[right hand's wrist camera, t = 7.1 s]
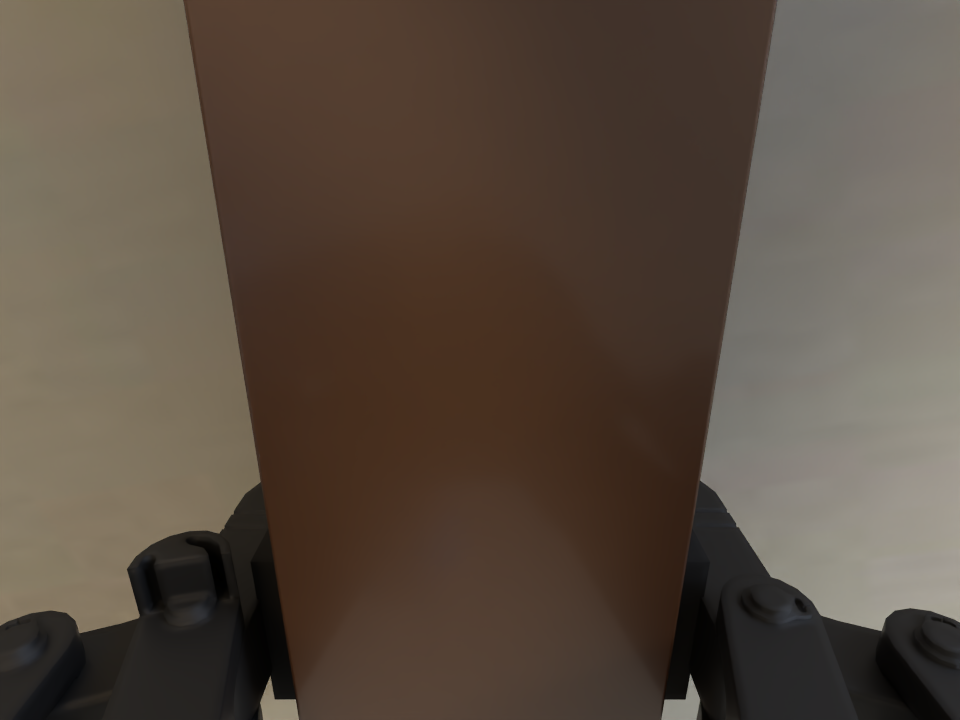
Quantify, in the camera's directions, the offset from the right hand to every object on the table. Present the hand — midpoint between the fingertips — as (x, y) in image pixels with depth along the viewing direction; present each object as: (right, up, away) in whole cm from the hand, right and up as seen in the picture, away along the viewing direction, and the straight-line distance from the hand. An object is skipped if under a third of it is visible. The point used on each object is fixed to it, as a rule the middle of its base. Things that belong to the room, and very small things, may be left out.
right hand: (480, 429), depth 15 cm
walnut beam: (0, +11, -4) cm, 12 cm away
